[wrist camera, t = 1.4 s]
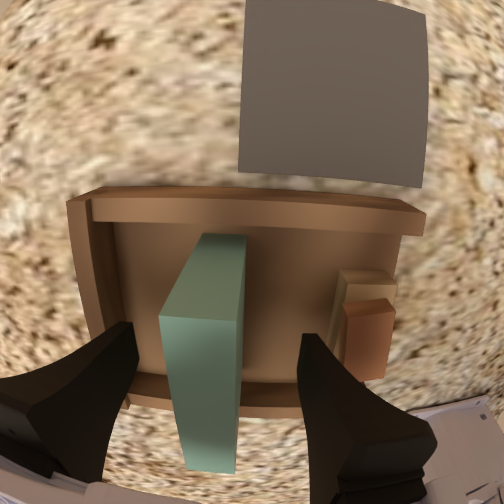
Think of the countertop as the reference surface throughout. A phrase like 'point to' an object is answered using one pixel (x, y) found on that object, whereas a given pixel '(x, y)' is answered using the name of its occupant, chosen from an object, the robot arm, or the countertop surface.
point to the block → (207, 350)
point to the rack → (256, 273)
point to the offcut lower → (357, 296)
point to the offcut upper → (366, 337)
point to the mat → (334, 90)
